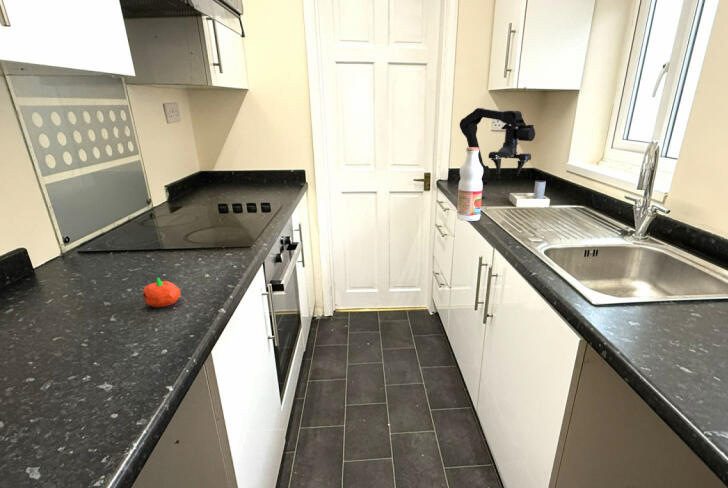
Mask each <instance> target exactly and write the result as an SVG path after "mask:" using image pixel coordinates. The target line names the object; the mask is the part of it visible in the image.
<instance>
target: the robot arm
mask: <svg viewBox="0 0 728 488" xmlns="http://www.w3.org/2000/svg"><path fill="white" fill-rule="evenodd" d="M483 118H484V119H489V120H490V119H491V120H497V121H500V122H502V123H504V125H503V126H502V127H501V130H505V134H504V142H502V146H501V147H500V149H498V150H497V151H495V150H494V151H490V152H489V153H488V157H487V158H488V159H490V161H493V163H494V166H495V168H496V172H497V175H500V173H501V166H502V158H503V159H518V160H517V161H516V162H517V167H516V172H515V173H516V175H515V176H516V177H519V174H520V173H521V171H522V168H523V167H524V165H525V164H526V163H528V162H529V161H531V160H532V154H531V153H526V152H522V153H518V151H517V149H518V145H519V142H518V141H520V142H533V141H534V140H535V137H536V129H535V128H534V127H535V125H534V124H526V122H525V120H524V119H523V114H522V112H521V111H520V110H495V109H489V108H488V109H487V108H484V107H476V108H475V109H474V110H473V111H472V112H470V113H469V114H467V115H466V116H464V117H463V118H462V119H461V120H460V122H459V129H460V132H461V133H462V135H463V136H464V137H465V138H466V142H467V147H478V148H479V152H478V158H479V162H480V164H481V166H482V167H483V175H482V178H481V180H482V194H483V192H484V191H483V190H484V186H486V185H487V183H488V181H489V180H490V178H491V172H490V168H489V165H485V164H484V161H483V158H482V153H481V149H480V146H479V141H478V137H477V132H478V125H479V124H480V123H481V121H482V120H483ZM484 198H485V197H484V195H482V199H484Z"/></svg>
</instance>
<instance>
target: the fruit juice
mask: <svg viewBox="0 0 728 488" xmlns="http://www.w3.org/2000/svg"><path fill="white" fill-rule="evenodd" d="M479 149H480V147H479V148H478V147H469V146H467V147H466V148H465V150H466V157H465V160H464V162H463V163H462V165H461V166H460V168H459V176H460V179H459V181H458V191H457V208H456V218H457V220H459V221H463V222H477V221H479V220H480V219H481V211H482V200H483V198H482V196H483V193H482V180H481V178H482V175H483V167H482V166H481V164H480V162H479V158H478V152H479Z"/></svg>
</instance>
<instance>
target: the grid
mask: <svg viewBox="0 0 728 488" xmlns="http://www.w3.org/2000/svg"><path fill="white" fill-rule="evenodd" d="M533 196H534V192H510V193H509V196H508V197H509V199H508V200H509V202H510V203H511V204H512V205H513V206H514V207H516V208H549V207H550V202H551V199H550V198H549V197H548V196H545V195H544V198H543V199H533Z"/></svg>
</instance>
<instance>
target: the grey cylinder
mask: <svg viewBox="0 0 728 488" xmlns="http://www.w3.org/2000/svg"><path fill="white" fill-rule="evenodd" d="M546 183H547V181H546V180H540V179H539V180H538V179H537V180H535V181H534V190H533V193H534V196H533V199H543V198H544V196H545V190H546Z"/></svg>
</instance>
